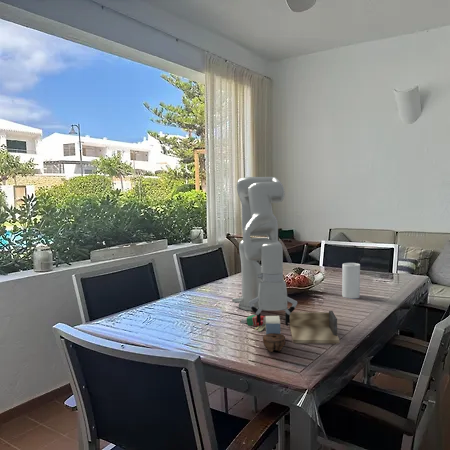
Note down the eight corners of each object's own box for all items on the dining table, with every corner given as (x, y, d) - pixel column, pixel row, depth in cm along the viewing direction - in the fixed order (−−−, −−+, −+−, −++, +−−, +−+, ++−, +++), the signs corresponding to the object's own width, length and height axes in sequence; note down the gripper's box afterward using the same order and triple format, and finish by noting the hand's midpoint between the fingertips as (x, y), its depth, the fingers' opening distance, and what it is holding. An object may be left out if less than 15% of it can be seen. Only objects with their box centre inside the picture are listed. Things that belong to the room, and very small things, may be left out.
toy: (248, 311, 181) (280, 311, 173) (250, 320, 181) (282, 321, 173) (231, 321, 168) (264, 322, 160) (232, 331, 168) (266, 332, 160)
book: (266, 344, 149) (266, 323, 148) (265, 335, 158) (265, 315, 157) (280, 344, 149) (280, 323, 148) (279, 335, 158) (279, 315, 157)
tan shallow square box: (293, 343, 150) (293, 323, 149) (289, 327, 166) (289, 309, 165) (339, 343, 148) (339, 323, 148) (331, 327, 164) (331, 309, 164)
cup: (341, 297, 206) (341, 265, 205) (343, 293, 214) (343, 262, 212) (358, 299, 203) (359, 266, 202) (360, 294, 211) (360, 263, 209)
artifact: (259, 353, 141) (259, 339, 141) (266, 345, 148) (265, 331, 148) (282, 356, 138) (282, 341, 138) (287, 348, 145) (287, 334, 145)
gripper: (247, 280, 148) (248, 328, 149) (297, 279, 146) (298, 328, 148) (248, 275, 155) (249, 321, 157) (296, 275, 154) (296, 321, 155)
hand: (273, 324), depth 152 cm, fingers open, 9 cm apart
